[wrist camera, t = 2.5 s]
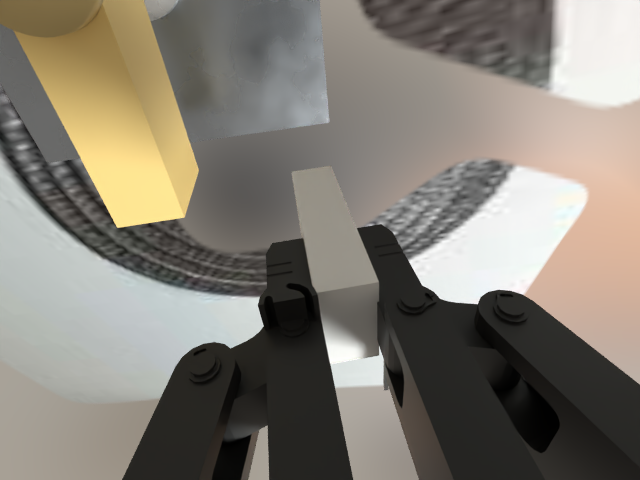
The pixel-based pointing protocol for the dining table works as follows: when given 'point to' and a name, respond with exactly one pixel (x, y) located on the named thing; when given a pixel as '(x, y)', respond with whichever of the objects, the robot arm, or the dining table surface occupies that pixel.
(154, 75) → the bar
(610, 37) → the dining table surface
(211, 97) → the base
